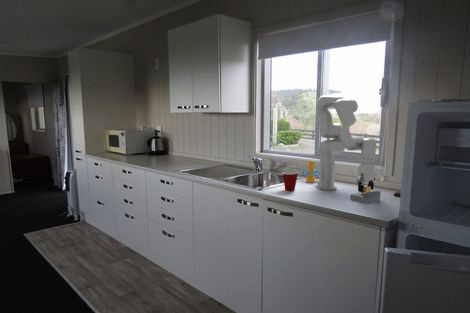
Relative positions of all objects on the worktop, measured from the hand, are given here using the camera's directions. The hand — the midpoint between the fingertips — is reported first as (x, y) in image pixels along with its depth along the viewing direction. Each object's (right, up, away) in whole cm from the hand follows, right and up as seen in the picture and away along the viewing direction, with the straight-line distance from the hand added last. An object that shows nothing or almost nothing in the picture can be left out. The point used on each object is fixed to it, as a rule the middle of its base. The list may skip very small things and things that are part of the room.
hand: (365, 190), depth 184 cm
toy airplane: (-19, +1, +50) cm, 54 cm away
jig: (0, -5, +1) cm, 5 cm away
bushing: (0, -5, 0) cm, 5 cm away
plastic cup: (-39, -3, +23) cm, 46 cm away
